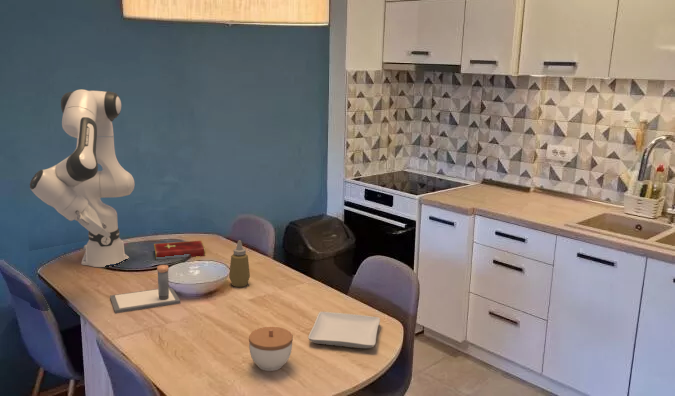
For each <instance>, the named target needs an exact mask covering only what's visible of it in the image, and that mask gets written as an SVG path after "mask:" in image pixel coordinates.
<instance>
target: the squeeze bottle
mask: <svg viewBox="0 0 675 396" xmlns="http://www.w3.org/2000/svg"><path fill="white" fill-rule="evenodd" d="M228 275H229V277H228V278H229V280H230V282H231V285H232V286H233V287H234V288H235V287H237V288H243V287H247V285H248V283H249V280H250V277H251V274H250V264H249V255H248V254H247V253H246V249H245V247H243V242H242V240H237V244H236V247H235V248H234V249H233V254H232V255H231V256H230V265H229V274H228Z"/></svg>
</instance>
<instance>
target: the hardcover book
mask: <svg viewBox="0 0 675 396" xmlns="http://www.w3.org/2000/svg"><path fill="white" fill-rule="evenodd" d="M153 246H154V247H153V249H154V253H155V258H156V257H165V256H174V255H184V254H191V256H192V257H191V258H197V257H196V256H200V257H205V256H206V248H205V246H204V243H203V241H202V240H191V241H190V240H189V241H179V242H178V241H174V242H162V243H153Z"/></svg>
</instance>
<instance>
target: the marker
mask: <svg viewBox="0 0 675 396" xmlns="http://www.w3.org/2000/svg"><path fill="white" fill-rule="evenodd" d="M156 269H157V289H158V295H159V299H160V300H166V299H168V298H169V287H170V285H169V284H170V283H169V265H168V264H159V265H157V267H156Z"/></svg>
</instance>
